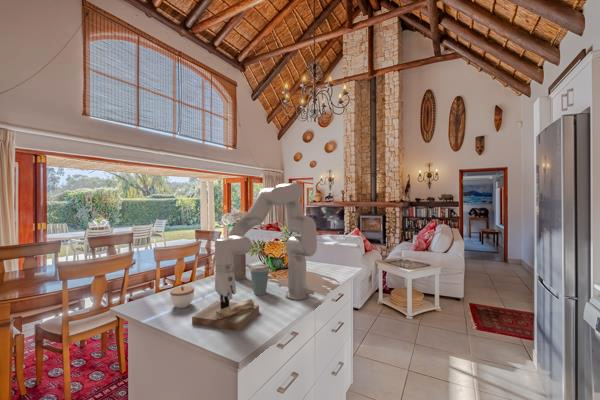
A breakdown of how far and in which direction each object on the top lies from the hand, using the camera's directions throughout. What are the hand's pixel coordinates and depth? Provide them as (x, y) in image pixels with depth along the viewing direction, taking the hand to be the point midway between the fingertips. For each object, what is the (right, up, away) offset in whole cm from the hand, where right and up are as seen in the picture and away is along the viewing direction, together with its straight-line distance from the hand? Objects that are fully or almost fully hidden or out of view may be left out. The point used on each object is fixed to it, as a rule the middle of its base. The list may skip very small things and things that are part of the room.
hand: (224, 310), depth 117 cm
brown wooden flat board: (0, -4, +2) cm, 5 cm away
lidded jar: (-25, -4, +16) cm, 30 cm away
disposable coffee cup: (+10, -4, +33) cm, 34 cm away
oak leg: (+5, -1, 0) cm, 5 cm away
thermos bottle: (-7, -4, +59) cm, 60 cm away
